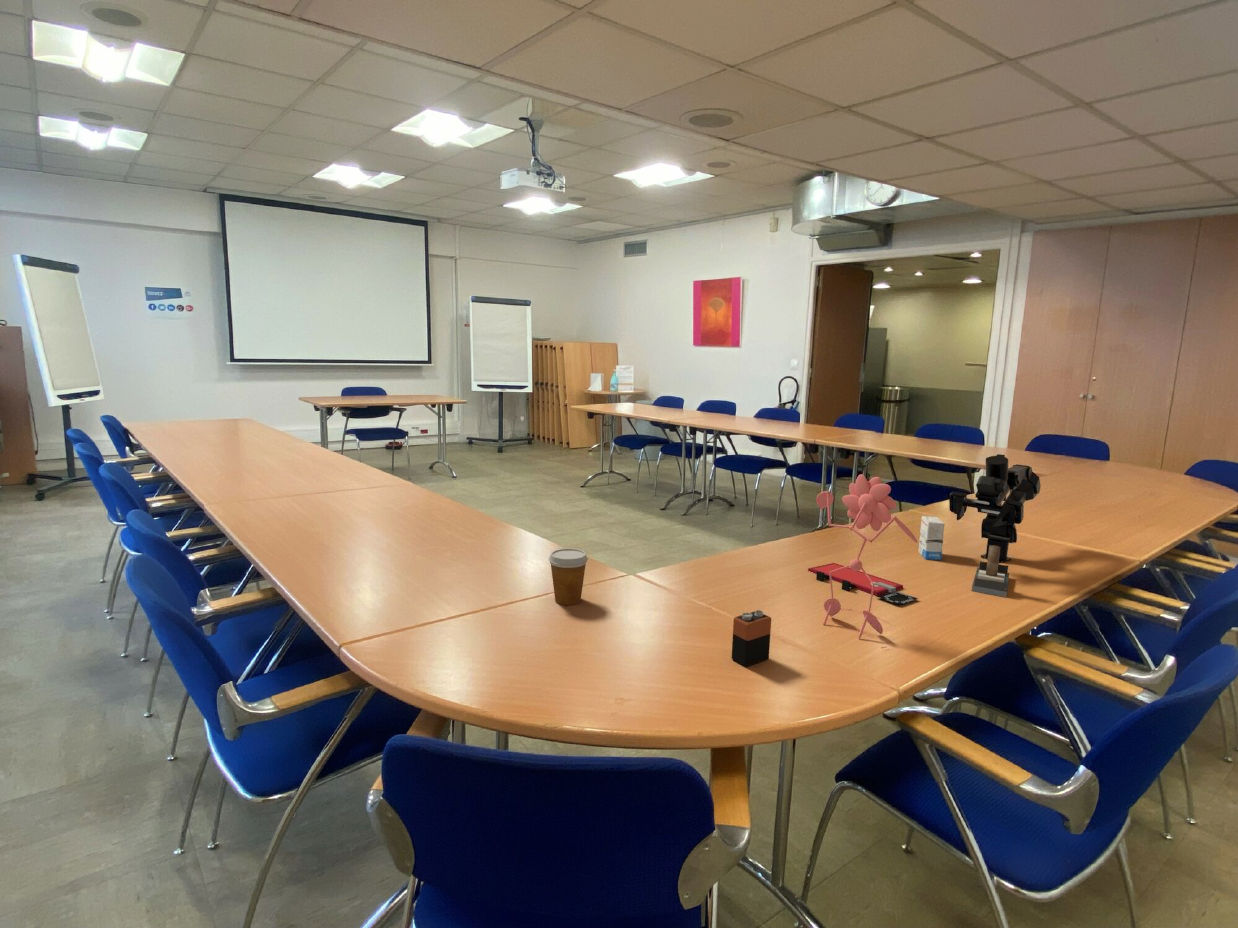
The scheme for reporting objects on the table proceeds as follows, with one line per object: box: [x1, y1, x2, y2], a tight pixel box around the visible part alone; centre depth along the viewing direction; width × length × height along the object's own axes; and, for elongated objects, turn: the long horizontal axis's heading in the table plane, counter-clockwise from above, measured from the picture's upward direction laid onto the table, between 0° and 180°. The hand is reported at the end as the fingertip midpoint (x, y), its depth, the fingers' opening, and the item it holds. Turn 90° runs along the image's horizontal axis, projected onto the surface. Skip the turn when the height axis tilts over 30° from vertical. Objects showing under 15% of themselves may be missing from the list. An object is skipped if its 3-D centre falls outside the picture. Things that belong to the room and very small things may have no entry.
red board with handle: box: [807, 562, 919, 605], centre depth 176 cm, size 30×3×15 cm
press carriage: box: [978, 545, 1005, 583], centre depth 173 cm, size 5×6×10 cm
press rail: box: [971, 561, 1010, 598], centre depth 178 cm, size 18×8×4 cm, turn 148°
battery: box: [731, 609, 772, 668], centre depth 131 cm, size 4×7×10 cm, turn 125°
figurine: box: [815, 473, 918, 649], centre depth 147 cm, size 15×26×35 cm, turn 36°
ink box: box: [918, 515, 945, 561], centre depth 202 cm, size 9×5×12 cm, turn 168°
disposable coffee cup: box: [548, 547, 589, 606], centre depth 160 cm, size 10×10×12 cm
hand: (974, 522), depth 181 cm, fingers open, 9 cm apart
